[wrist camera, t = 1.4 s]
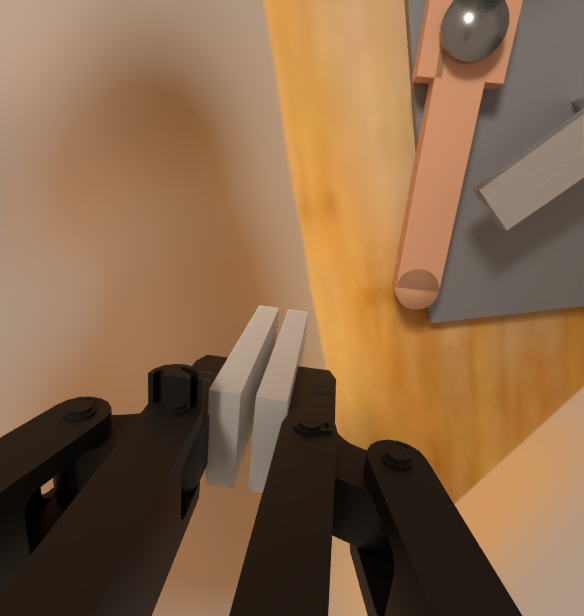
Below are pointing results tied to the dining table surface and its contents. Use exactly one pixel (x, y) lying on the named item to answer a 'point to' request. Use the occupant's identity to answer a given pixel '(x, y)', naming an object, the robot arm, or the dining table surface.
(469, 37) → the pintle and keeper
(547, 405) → the dining table surface
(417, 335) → the dining table surface
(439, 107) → the link
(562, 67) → the board
